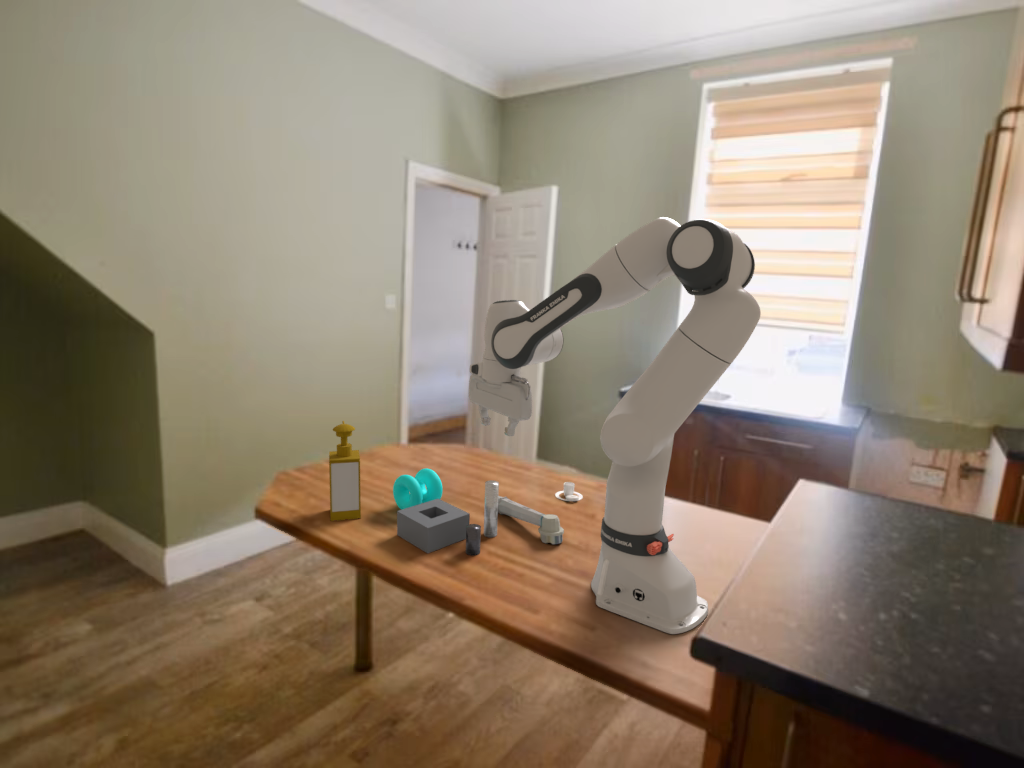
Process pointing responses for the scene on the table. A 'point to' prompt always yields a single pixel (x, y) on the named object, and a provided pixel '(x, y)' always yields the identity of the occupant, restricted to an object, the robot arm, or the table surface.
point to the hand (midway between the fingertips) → (497, 429)
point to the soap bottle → (344, 477)
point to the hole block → (432, 525)
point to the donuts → (417, 488)
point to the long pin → (491, 508)
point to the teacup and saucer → (569, 492)
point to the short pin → (473, 539)
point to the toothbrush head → (533, 519)
